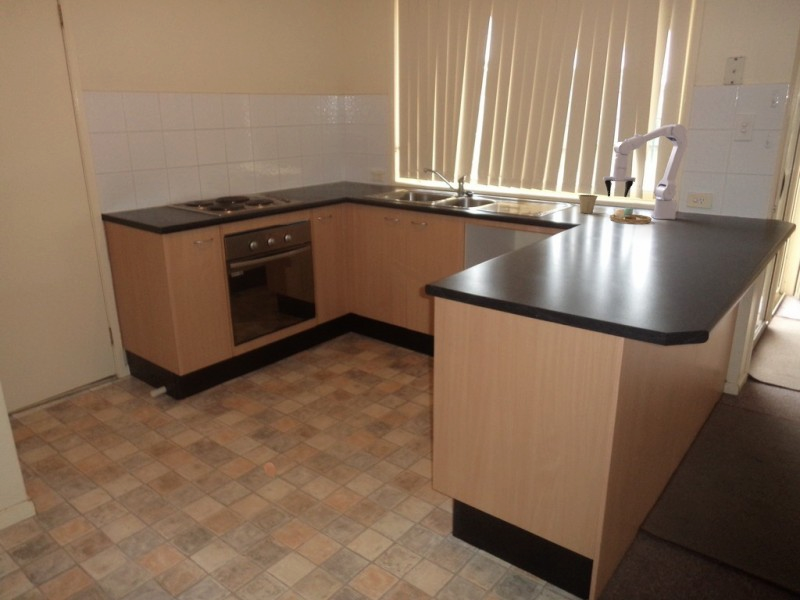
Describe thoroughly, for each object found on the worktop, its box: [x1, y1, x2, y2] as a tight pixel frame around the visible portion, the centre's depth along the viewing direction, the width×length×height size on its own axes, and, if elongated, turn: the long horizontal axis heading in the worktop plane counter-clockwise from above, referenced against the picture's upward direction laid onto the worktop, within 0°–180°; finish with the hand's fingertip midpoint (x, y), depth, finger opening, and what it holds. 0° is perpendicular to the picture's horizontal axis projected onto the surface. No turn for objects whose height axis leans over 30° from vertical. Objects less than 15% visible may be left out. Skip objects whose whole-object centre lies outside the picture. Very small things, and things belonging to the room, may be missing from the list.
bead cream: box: [614, 208, 624, 219], centre depth 285 cm, size 4×4×4 cm
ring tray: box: [609, 213, 653, 225], centre depth 285 cm, size 18×18×2 cm
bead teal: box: [623, 207, 634, 218], centre depth 289 cm, size 4×4×4 cm
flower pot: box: [578, 194, 599, 214], centre depth 306 cm, size 9×9×9 cm
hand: (617, 196), depth 288 cm, fingers open, 7 cm apart
